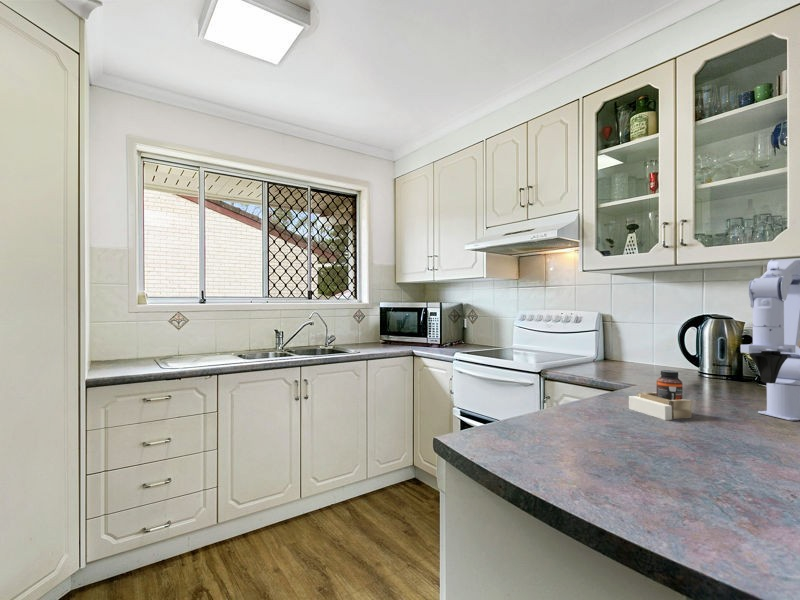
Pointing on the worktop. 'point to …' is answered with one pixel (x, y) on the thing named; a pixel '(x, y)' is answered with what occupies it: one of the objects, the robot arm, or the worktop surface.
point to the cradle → (671, 404)
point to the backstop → (650, 407)
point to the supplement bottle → (669, 385)
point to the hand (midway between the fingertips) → (768, 382)
